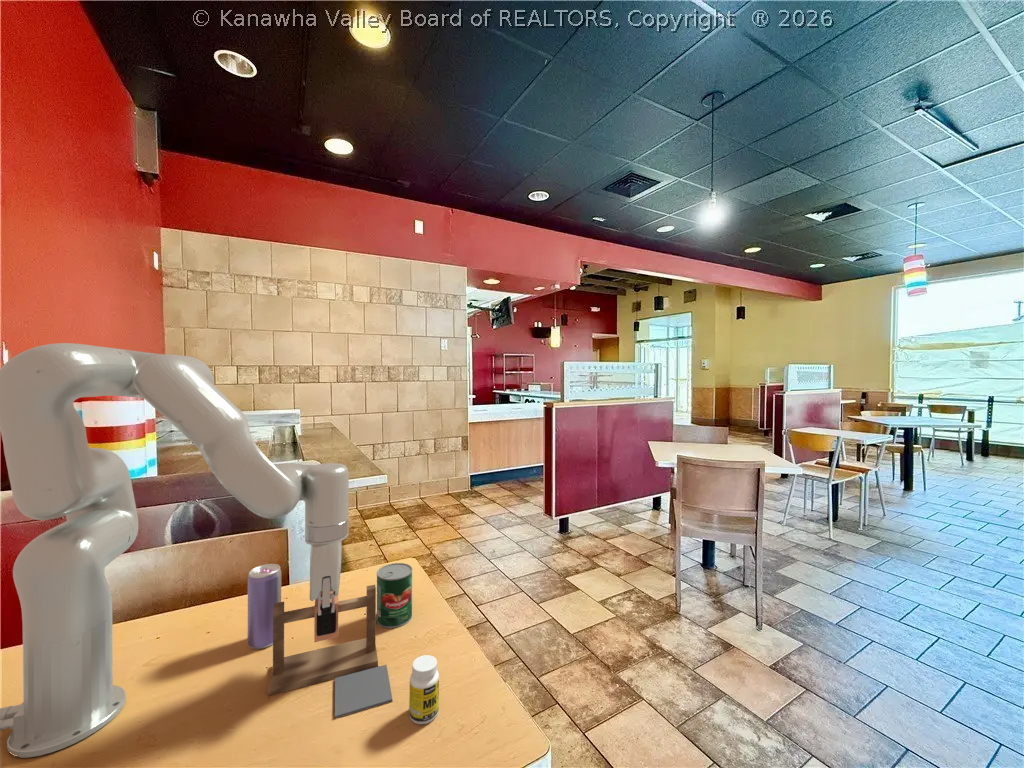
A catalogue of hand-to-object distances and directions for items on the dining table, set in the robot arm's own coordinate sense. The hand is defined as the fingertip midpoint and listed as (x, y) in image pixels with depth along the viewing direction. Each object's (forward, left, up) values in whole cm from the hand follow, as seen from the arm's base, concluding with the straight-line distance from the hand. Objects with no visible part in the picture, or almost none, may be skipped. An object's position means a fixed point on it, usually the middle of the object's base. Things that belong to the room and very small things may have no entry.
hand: (326, 623), depth 77 cm
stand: (0, 0, -8) cm, 8 cm away
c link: (0, 0, -2) cm, 2 cm away
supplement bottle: (+15, -18, -8) cm, 25 cm away
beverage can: (-12, +13, -8) cm, 20 cm away
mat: (+6, -9, -8) cm, 14 cm away
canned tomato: (+14, +11, -9) cm, 20 cm away
